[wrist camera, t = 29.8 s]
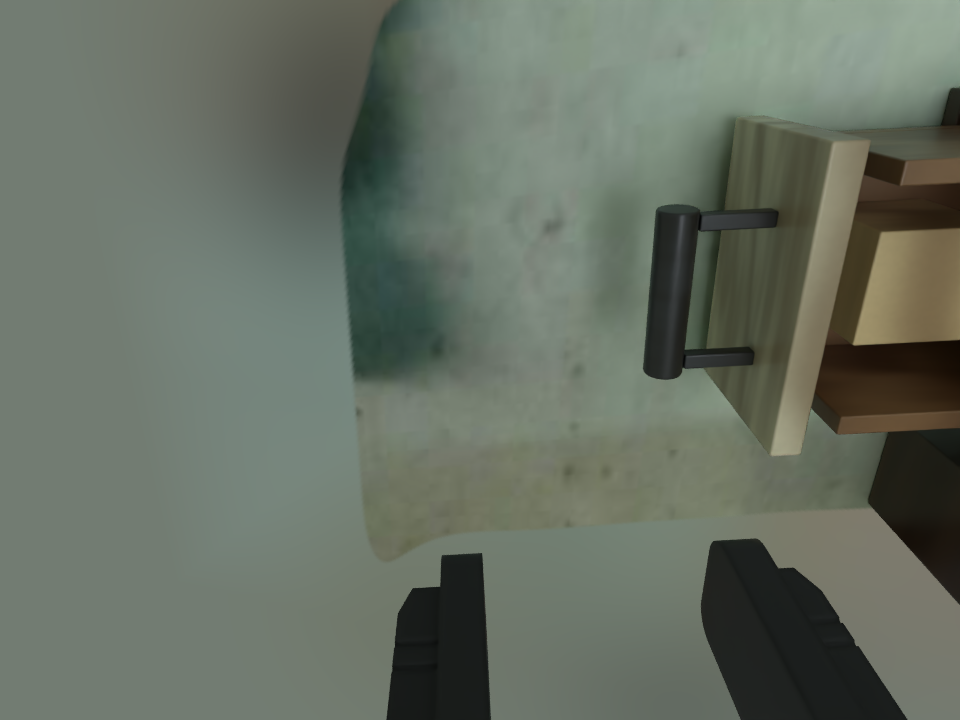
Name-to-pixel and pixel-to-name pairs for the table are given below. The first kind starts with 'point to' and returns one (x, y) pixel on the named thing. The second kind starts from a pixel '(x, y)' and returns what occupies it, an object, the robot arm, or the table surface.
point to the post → (923, 498)
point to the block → (900, 274)
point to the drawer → (802, 283)
